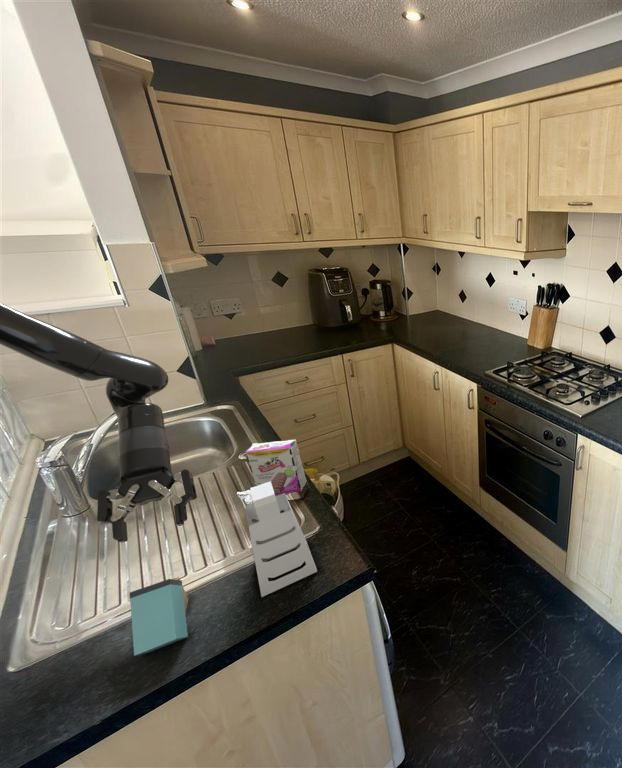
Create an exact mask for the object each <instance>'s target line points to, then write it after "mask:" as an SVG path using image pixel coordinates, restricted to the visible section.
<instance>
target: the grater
mask: <svg viewBox="0 0 622 768" xmlns="http://www.w3.org/2000/svg"><path fill="white" fill-rule="evenodd" d="M249 489H250V494H251V498H252V502H253V504H249V505H247V506H245V507H244V509H245V514H246V519H247V520H246V521H247V526H248V531H249V537H250V542H251V547H252V553H253V559H254V564H255V568H256V574H257V580H258V586H259V591H260V597H261V598H263V597H265V596H267V595H269V594H272V593H274V592H277V591H278V590H280V589H283V588H285V587H287V586H289V585H291V584H293V583H296V582H297V581H300V580H302V579H305V578H307V577H308V576H311V575H313V574H315V573H318V569H317V566H316V563H315V561H314V558H313V555H312V553H311V550H310V548H309V547H308V546H309V544H308V541H307V539H306V537H305V535H304V532H303V530H302V528H301V525H300V524H299V521H298V519H297V517H296V514H295V512H294V510H293V508H292V506H291V504H290V502H289V501H288V499H287V497H286V494H285V493H284V494H281V495H278V496H275V494H274V490H273V487H272V484H271V481H270V482H267V483H264V484H261V485H258V486H252V487H250V488H249ZM281 511H283V512H281ZM253 520H258V521H253ZM303 564H305V565H304V566H303V567H301V566H302V565H303ZM299 567H301V568H299ZM297 568H299V569H297ZM295 569H297V570H295ZM293 570H295V571H293ZM290 571H293V572H291V573H288V572H290ZM286 573H288V574H286ZM284 574H286V575H284ZM281 575H284V576H282V577H280V578H278V579H275V580H270V581H269V578H271V579H273V578H276V577H279V576H281Z"/></svg>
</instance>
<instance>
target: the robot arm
mask: <svg viewBox="0 0 622 768" xmlns="http://www.w3.org/2000/svg"><path fill="white" fill-rule="evenodd" d="M0 345H1V346H3V347H5V348H8V349H10V350H12V351H14V352H16V353H18V354H20V355H23V356H25V357H27V358H29V359H31V360H33V361H36V362H38V363H39V364H42V365H45V366H47V367H49V368H52V369H55V370H57V371H59V372H62V373H65V374H67V375H69V376H72V377H75V378H77V379H80V380H83V381H86V382H94V381H98V380H103V379H108V381H107V382H106V386H105V395H106V398H107V400H108V403H109V404H110V407H111V409H112V411H113V412H114V414H115V416H116V417H117V428H118V429H117V430H118V441H117V453H118V467H119V479H120V484H119V486H118V488H115V489H110V490H106V489H101V490H99V491H98V492H97V509H96V512H97V513H96V515H97V516H96V520H97V521H98V522H100V523H103V524H105V525H109V524H111V527H112V528H111V529H112V530H111V531H112V538H113V540H114V541H117V542H118V543H121V544H123V543H126V542H128V538H129V537H128V528H127V527H128V526H127V522H126V519H127V518H128V517H129V516H130V514H131V513H133V512H134V511H135V509H136V508H137V507H138V506H145V505H148V504H150V503H153V502H154V503H155V502H160V501H162V500H163V499H164V498H167V499H169V500H170V501H171V502H173V503H174V505H173V511H174V512H173V513H174V520H175V524H176V526H179V527H180V526H183V525H185V522H187V521H188V513H187V504H188V503H189V502H191V501H194V500H196V499H197V498H198V494H197V490H196V486H195V485H196V484H195V480H194V477H193V473H192V472H191V471H190V470H189V469H185V468H184V469H182V470H181V471H180V472H178V473H175V474H174V473H172V463H171V457H170V444H169V439H168V437H167V433H166V428H165V418H164V413H163V410H162V408H161V407H160V406H159V405H158V404H155V403H151V402H146V400H147V399H148V398H150V397H151V396H153V395H155V394H158V393H159V392H161V391H163V390H164V389H165V388H166V387H167V386H168V384H169V375H168V374H167V372H166V371H165V369H164V368H163V367H162V366H160V365H159V364H157V363H155V362H153V361H151V360H149V359H146V358H143V357H139V356H135V355H131V354H128V353H124V352H119V351H116V350H115V351H114V350H111V349H107V348H105V347H103V346H101V345H99V344H97V343H94V342H93V341H90V340H88V339H86V338H83V337H82V336H80V335H77V334H75V333H73V332H71V331H68V330H66V329H63V328H61V327H58V326H56V325H53V324H50V323H48V322H47V321H43V320H41V319H38V318H35V317H34V316H31V315H28V314H27V313H24V312H22V311H19V310H17V309H14V308H12V307H10V306H8V305H6V304H4V303H2V302H0ZM176 481H178V482H179V483H180V484H182V485H183V490H184V494H183V495H181V496H180V495H178V494H177V493H175V492H174V491H172V490H171V488H172V487H173V485H174V484H175V482H176ZM118 496H121V497H122V499H121V501H120V502H119V504H118V505H117V509H116V510H115V511H113V508H114V506H113V505H114V502H115V501H116V500H117V497H118Z"/></svg>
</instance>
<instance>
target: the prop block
mask: <svg viewBox="0 0 622 768" xmlns="http://www.w3.org/2000/svg"><path fill="white" fill-rule="evenodd" d="M173 579H174V580H181V578H180V577H179V576H177V577H174V578H173ZM182 589H183V598H184V607H185V615H186V614H187V609H188V604H189V597H188V594H187V593H186V590H185V589H184V586H183V585H182Z"/></svg>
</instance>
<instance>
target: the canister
mask: <svg viewBox="0 0 622 768" xmlns="http://www.w3.org/2000/svg"><path fill="white" fill-rule="evenodd" d="M182 586H183V580H181V579H180V580H174V578H168V579H165V580H162V581H159V582H156V583H153V584H151V585H148V586H145V587H142V588H138V589H136V590H133V591H130V592H129V602H130V614H131V615H130V616H131V629H132V631H131V633H132V643H133V644H132V646H133V656H134V657H135V656H139V655H143V654H148V653H151V652H154V651H156V650H158V649H161V648H164V647H166V646H169V645H171V644H174V643H177V642H178V641H181V640H184V639H186V638H188V637H189V635H188V634H189V633H188V626H187V624H188V623H187V615H186V614H185V607H184V598H183V589H182Z"/></svg>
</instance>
